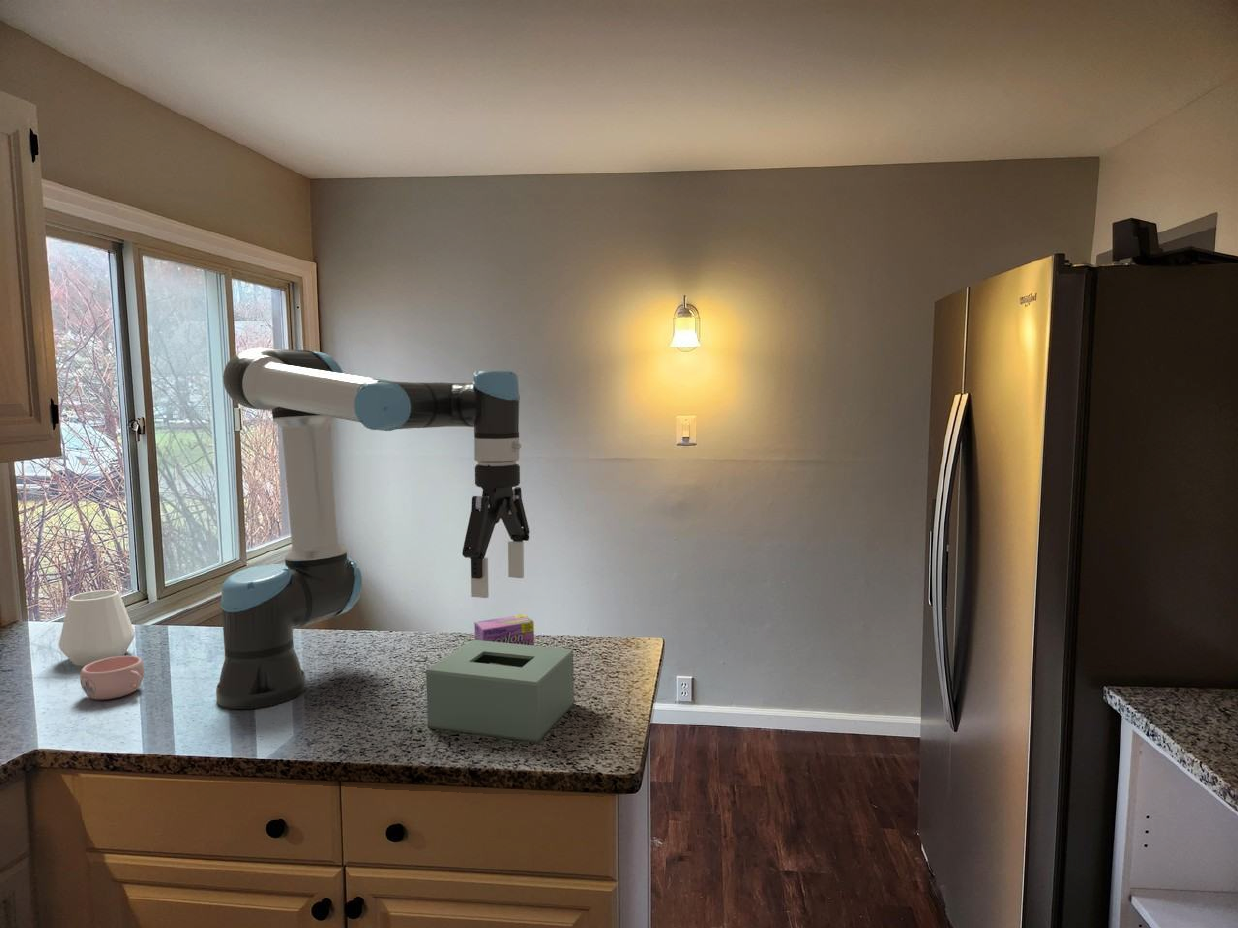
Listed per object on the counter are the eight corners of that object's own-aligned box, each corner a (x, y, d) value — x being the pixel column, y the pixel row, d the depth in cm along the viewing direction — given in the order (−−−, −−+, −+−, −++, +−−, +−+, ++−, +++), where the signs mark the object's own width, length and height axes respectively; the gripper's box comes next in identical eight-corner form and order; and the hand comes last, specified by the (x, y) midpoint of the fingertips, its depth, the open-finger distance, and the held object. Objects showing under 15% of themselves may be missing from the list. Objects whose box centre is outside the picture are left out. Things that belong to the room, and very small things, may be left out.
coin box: (427, 727, 125) (425, 669, 124) (474, 691, 140) (472, 639, 139) (537, 742, 119) (536, 682, 118) (574, 703, 134) (573, 649, 133)
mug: (68, 701, 138) (66, 669, 137) (120, 681, 147) (118, 652, 147) (116, 709, 134) (113, 677, 133) (165, 688, 143) (163, 658, 143)
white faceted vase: (148, 654, 163) (143, 591, 162) (77, 673, 152) (72, 606, 150) (118, 644, 170) (113, 584, 169) (48, 661, 159) (43, 597, 158)
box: (484, 689, 141) (482, 628, 140) (475, 679, 146) (473, 620, 145) (535, 679, 146) (534, 620, 145) (525, 670, 151) (524, 613, 150)
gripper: (482, 471, 113) (484, 608, 115) (547, 457, 136) (547, 571, 139) (438, 469, 115) (441, 604, 117) (509, 456, 139) (511, 568, 141)
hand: (499, 586), depth 128 cm, fingers open, 13 cm apart
